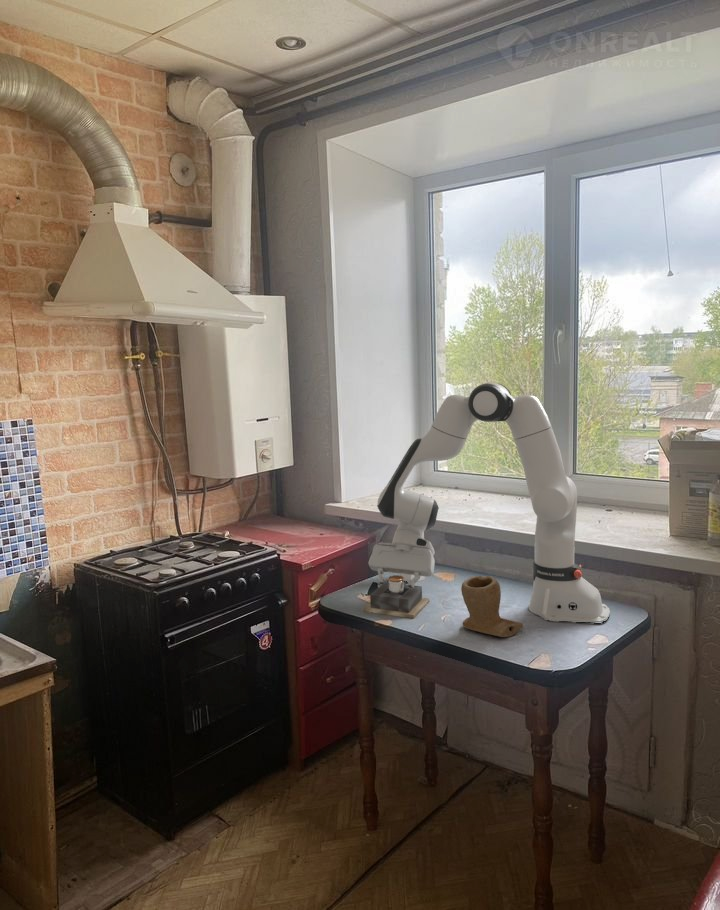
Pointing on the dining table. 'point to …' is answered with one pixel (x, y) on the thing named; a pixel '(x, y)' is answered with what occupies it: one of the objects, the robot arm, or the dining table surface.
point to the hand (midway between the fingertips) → (395, 585)
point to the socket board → (397, 601)
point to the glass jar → (396, 585)
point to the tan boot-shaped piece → (486, 607)
